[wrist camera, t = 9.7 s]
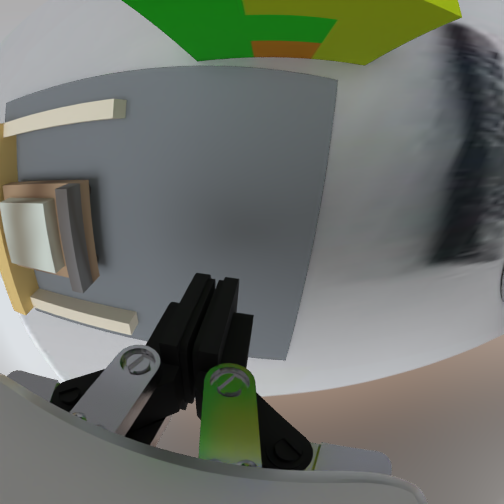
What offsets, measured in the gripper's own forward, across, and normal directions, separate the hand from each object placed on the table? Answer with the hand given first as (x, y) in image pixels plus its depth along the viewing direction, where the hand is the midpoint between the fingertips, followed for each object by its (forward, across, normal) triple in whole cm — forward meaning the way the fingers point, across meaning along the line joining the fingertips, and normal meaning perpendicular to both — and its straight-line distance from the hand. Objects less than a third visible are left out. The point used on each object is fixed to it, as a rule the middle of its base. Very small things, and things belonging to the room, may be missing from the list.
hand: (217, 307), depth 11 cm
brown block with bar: (+7, +14, 0) cm, 16 cm away
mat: (+7, +8, 0) cm, 11 cm away
